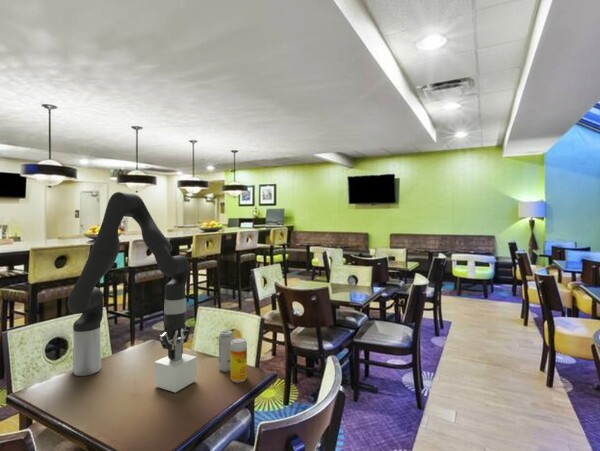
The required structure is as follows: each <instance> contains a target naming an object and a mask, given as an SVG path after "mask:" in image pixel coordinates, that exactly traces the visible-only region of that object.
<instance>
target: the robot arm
mask: <svg viewBox="0 0 600 451" xmlns="http://www.w3.org/2000/svg"><path fill="white" fill-rule="evenodd" d="M124 217H126V218H132V219H133V220H134V221H135V222H136V223H137V224H138V226H139V228H140V231H141V236H142V237H141V238H142V240H143V242H144V244H145V245H146V247H147V249H148V250H149V252H151V254H152V255H153V256H154V260H155V262H156V264H157V267H158V268H159V271H160V272H161V273H162V275H164V276H166V277H170V278H171V280H170V281H168V283H166V284H165V287H164V305H163V306H164V307H163V308H164V309H163V310H164V312H163V314H164V315H163V316H164V321H163V322H164V325H165V328H164V332H163V333H162V334H159V335H158V339H159V342H160V344H161V347H162V349H164V350H167V356H168V358H169V359H171V360H174V359H175V349H174V347H175V343H176V341H178V342H182V354H184V345H185V343H187V342H188V340H189V336H190V333H191V329H192V326H190V325H186V323H187V302H186V301H187V300H186V285H187V283H188V282H187V281H188V276H189V274H190V262H189V260H188V258H187V257H186V256H184V255H174V256H172V254H171V253H172V251H173V246H172V244H171V243H170V241H169V240H168V239H167V237H166V236H165V235H164V233H163V232H162V231H161V230H160V228H159V227H158V225H157V224H156V222H155V221H154V219H153V217H152V215H151V213H150V211H149V210H148V208H147V206H146V204H145V202H144V200H143V199H142V198H141V197H140V195H138V194H136V193H132V192H125V191H116V192H114V193H113V194H112V195H111V196H110V198H109V199H108V201H107V205H106V208H105V213H104V215H103V219H102V222H101V224H100V226H99V227H100V228H99V230H98V233H97V235H96V238H95V241H94V243H93V245H92V247H91V250H90V252H89V254H88V257H87V260H86V261H85V264H84V266H83V267H82V268H83V269H82V270H81V273H80V275H79V277H78V279H77V281H76V283H75V285H74V286H73V288H72V289H71V291H70V293H69V296H68V297H67V298H68V300H67V307H68V310H69V311H70V312H71V313H72V314H74V315H80V314H81V315H80V317H79V318H77V320H75V321H74V322H73V325H72V330H73V332H72V333H73V336H72V337H73V338H72V339H73V340H72V342H73V344H72V345H73V348H72V372H73V375H74V376H77V377H85V376H90V375H93V374H96V373H97V372H99V371H101V368H102V363H101V362H102V356H101V355H102V354H101V353H102V352H101V351H102V350H101V349H102V348H101V345H102V344H101V342H102V340H101V323H102V320H103V317H104V316H103V315H104V296H103V293H102V290H101V289H100V288H98V287H96V285H97V284H98V282H99V281H100V280H101V279H102V278H103V277H104V276H105V275H107V273H108V272H109V271H110V269H111V268H112V267H113V266H114V264H115V262H116V259H117V257H118V255H119V253H120V251H121V250H120V249H121V243H120V239H119V238H120V237H119V228H120V226H121V222H122V221H123V219H124Z"/></svg>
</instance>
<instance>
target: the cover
mask: <svg viewBox="0 0 600 451" xmlns="http://www.w3.org/2000/svg"><path fill="white" fill-rule="evenodd" d="M174 349H175V359H174V360H171V359H169V358H168V355H166V356H165V357H162V358H160V359H157V360H156V361H154V386H155V387H157V388H160V389H163V390H166V391H169V392H173V393H177V392H179V391H180V390H182V389H184V388H185V387H188V386H189V385H191V384H193V383H194V382H196V381H197V356H195V355H190V354H187V353H183V354H182V342H178V341H176V343H175V347H174Z"/></svg>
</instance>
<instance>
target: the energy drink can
mask: <svg viewBox="0 0 600 451" xmlns="http://www.w3.org/2000/svg"><path fill="white" fill-rule="evenodd" d="M232 339H235V335H234V334H233V330H228V329H226V330H222V331H220V333H219V336H218V368H219V370H220V372H225V373H227V372H231V342H232Z"/></svg>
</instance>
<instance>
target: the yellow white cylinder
mask: <svg viewBox="0 0 600 451" xmlns="http://www.w3.org/2000/svg"><path fill="white" fill-rule="evenodd" d="M247 377H248V342H247V340H246V338H244V337H234V339H232V342H231V371H230V380H231V381H232V382H233V383H243V382H245V381H246V379H247Z"/></svg>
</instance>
